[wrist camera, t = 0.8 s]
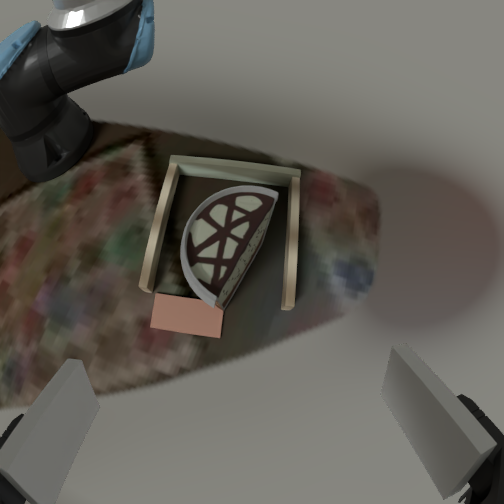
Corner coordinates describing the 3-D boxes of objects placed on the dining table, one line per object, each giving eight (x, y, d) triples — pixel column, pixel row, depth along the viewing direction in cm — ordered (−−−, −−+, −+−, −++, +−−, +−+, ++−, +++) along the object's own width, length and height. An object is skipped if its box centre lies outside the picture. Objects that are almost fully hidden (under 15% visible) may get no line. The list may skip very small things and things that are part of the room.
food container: (224, 213, 37) (224, 162, 28) (267, 235, 36) (281, 188, 27) (170, 295, 32) (149, 265, 23) (217, 322, 32) (212, 303, 22)
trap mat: (156, 293, 32) (155, 293, 32) (224, 303, 33) (224, 302, 32) (151, 327, 31) (150, 327, 31) (220, 338, 31) (220, 337, 31)
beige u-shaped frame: (174, 168, 39) (171, 155, 36) (296, 182, 39) (300, 169, 36) (144, 291, 32) (137, 285, 30) (289, 310, 33) (295, 305, 30)
